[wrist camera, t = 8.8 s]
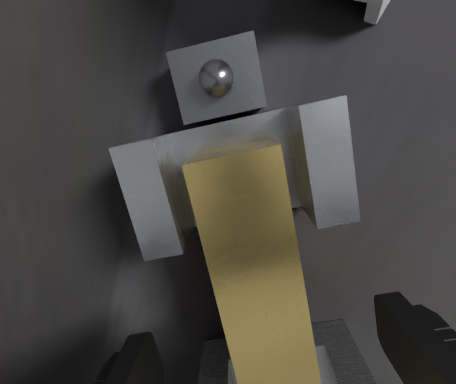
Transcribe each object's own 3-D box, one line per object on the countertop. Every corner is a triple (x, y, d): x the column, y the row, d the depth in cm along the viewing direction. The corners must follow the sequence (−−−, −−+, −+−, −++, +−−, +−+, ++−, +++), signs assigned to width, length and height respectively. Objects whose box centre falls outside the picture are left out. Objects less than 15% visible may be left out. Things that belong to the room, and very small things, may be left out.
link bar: (256, 404, 15) (260, 475, 12) (195, 152, 12) (181, 165, 9) (315, 396, 15) (335, 466, 12) (270, 136, 11) (281, 144, 9)
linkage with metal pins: (230, 435, 17) (228, 526, 14) (128, 72, 12) (78, 53, 9) (357, 419, 17) (392, 510, 13) (302, 29, 12) (334, -12, 8)
